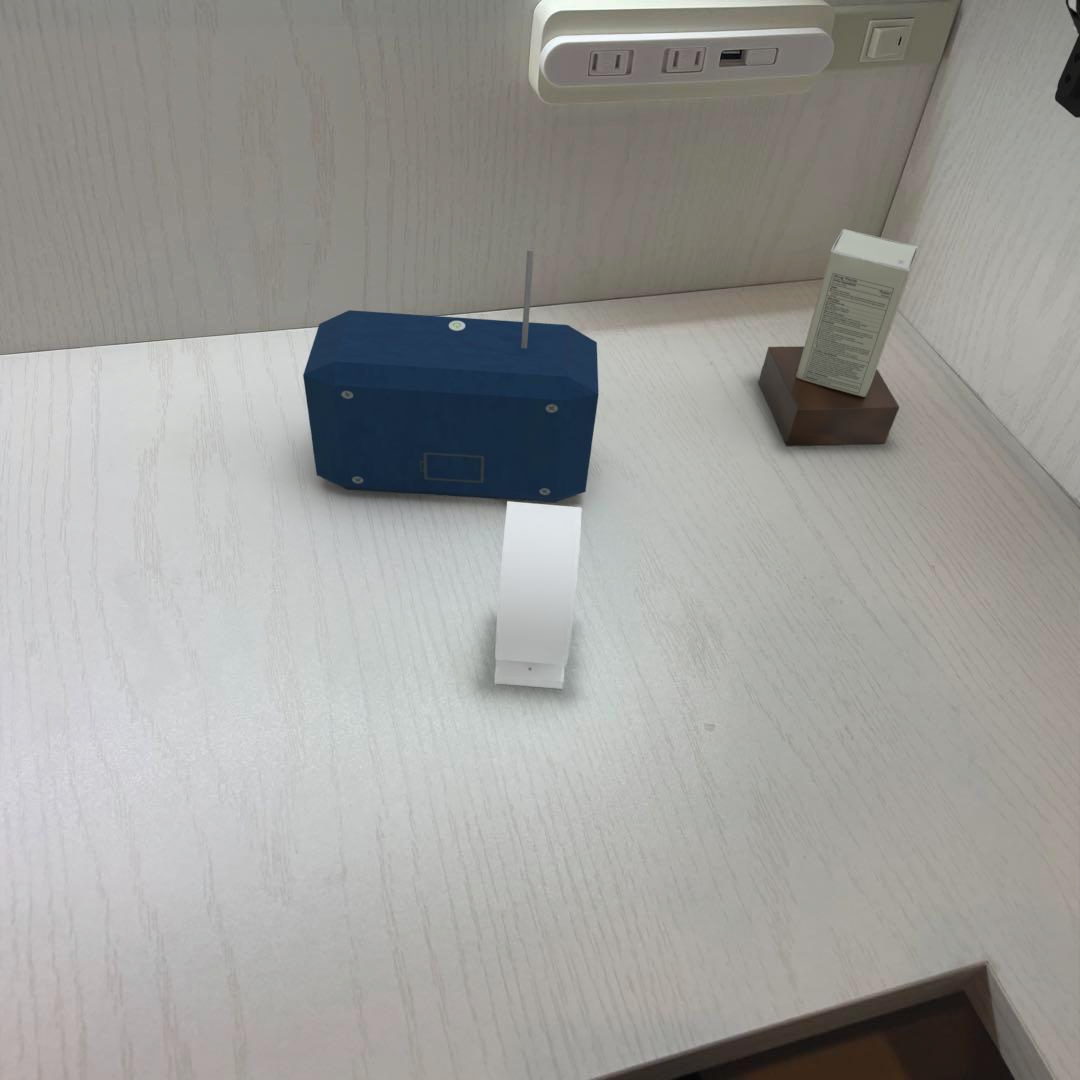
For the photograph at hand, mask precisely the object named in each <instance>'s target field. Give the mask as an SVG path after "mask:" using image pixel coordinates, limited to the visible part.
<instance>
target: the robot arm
mask: <svg viewBox="0 0 1080 1080" xmlns="http://www.w3.org/2000/svg"><path fill="white" fill-rule="evenodd" d="M1065 5H1066V8H1067V9H1068V13H1069V14H1070V17H1071V20H1072V22H1073V23H1072V29H1073V31H1074V32H1075V33H1077V34H1078V35H1077V38H1076V40H1075V43H1074V45H1073V47H1072V49H1071V51H1070V54H1069V56H1068V58H1067V60H1066V63H1065V64H1064V68H1063V70H1062V72H1061V74H1060V77H1059V79H1058V82H1057V86H1056V88H1057V89H1056V91H1055V93H1054V100H1055V102H1057V103H1058V104H1059V105H1060V106H1061V107H1062V108H1064V110H1066V111H1067V112H1068V113H1069V114H1071V116H1072V117H1074V118H1077V119H1078V118H1080V0H1065Z"/></svg>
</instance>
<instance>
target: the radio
mask: <svg viewBox="0 0 1080 1080" xmlns="http://www.w3.org/2000/svg"><path fill="white" fill-rule="evenodd" d="M533 260H534V250H533V249H528V250H526V261H525V262H526V263H525V279H524V294H523V296H524V297H523V310H522V311H523V315H522V321H514V320H502V319H487V318H486V319H485V318H484V319H483V318H472V317H455V316H441V315H425V314H409V313H395V312H382V311H381V312H380V311H366V310H352V309H351V310H350V309H348V310H346V311H345V312H342V313H339V314H337V315H336V316H333V317H331V318H329V319H327V320H325V321H322V322H321V323H318V327H317V329H316V334H315V337H314V340H313V342H312V346H311V350H310V351H309V355H308V358H307V362H306V365H305V368H304V371H303V374H302V377H303V385H304V391H305V399H306V406H307V413H308V421H309V428H310V436H311V437H310V438H311V443H312V451H313V458H314V465H315V466H314V467H315V473H316V476H317V477H319V478H322V479H324V480H325V481H328V482H330V483H333V484H335V485H337V486H339V487H341V488H343V489H345V490H347V491H362V492H377V493H391V494H393V493H394V494H406V495H407V494H408V495H409V494H411V495H426V496H443V497H457V498H459V497H460V498H474V499H491V500H492V499H493V500H505V501H506V500H507V501H522V502H537V503H557V502H560V501H564V500H565V499H569V498H572V497H575V496H577V495H580V494H583V493H586V491H587V484H588V477H589V469H590V461H591V455H592V447H593V441H594V440H593V439H594V431H595V424H596V417H597V409H598V403H599V367H598V366H599V365H598V363H599V362H598V342H597V341H595V340H593V339H592V338H591V337H589V336H587V335H585V334H584V333H582V332H580V331H578V330H577V329H575V328H573V327H572V326H570V325H568V324H561V323H560V324H559V323H546V322H545V323H544V322H531V321H530V309H531V308H530V307H531V293H532V280H533V279H532V278H533V277H532V276H533V263H534V261H533Z"/></svg>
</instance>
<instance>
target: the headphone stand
mask: <svg viewBox="0 0 1080 1080" xmlns="http://www.w3.org/2000/svg"><path fill="white" fill-rule="evenodd" d="M582 512H583V507H581V506H569V505H568V506H567V505H556V504H545V503H544V504H542V503H533V502H521V501H511V500H507V502H506V511H505V520H504V529H503V540H502V542H503V543H502V552H501V553H502V554H501V564H500V576H499V588H498V599H497V600H498V601H497V602H498V603H497V616H496V631H495V650H494V651H495V652H494V653H495V654H494V655H495V657H494V660H495V670H494V683H493V684H496V685H497V684H499V685H510V686H511V685H512V686H521V687H535V688H545V689H558V690H563V689H564V682H565V666H567V664H568V661H569V655H570V649H571V642H572V634H573V625H574V617H575V608H576V607H575V606H576V597H577V586H578V575H579V560H580V549H581V547H580V546H581V531H582Z"/></svg>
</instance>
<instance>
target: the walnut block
mask: <svg viewBox="0 0 1080 1080" xmlns="http://www.w3.org/2000/svg"><path fill="white" fill-rule="evenodd" d="M804 346H805V345H804ZM804 346H803V345H802V346H799V345H798V346H768V347H767V350H766V354H765V358H764V361H763V365H762V368H761V372H760V375H759V378H758V385H759V388H760V389H761V392H762V394H763V397H764V399H765V401H766V403H767V405H768V408H769V410H770V412H771V414H772V417H773V419H774V421H775V424H776V426H777V429H778V430H779V433H780V435H781V437H782V439H783V442H784V445H785V446H787V447H788V446H791V447H793V446H825V445H827V446H828V445H831V446H832V445H867V444H874V445H875V444H885V443H886V441H887V439H888V436H889V434H890V432H891V429H892V427H893V424H894V422H895V419H896V417H897V414H898V412H899V410H900V405H899V404H898V402H897V400H896V399H895V397H894V396H893V394H892V392H891V390H890V388H889V387H888V385H887V383H886V382H885V380H884V379H883V377H882V375H881V373H880V372H879V370H878V368H877V369H876V372H875V375H874V378H873V381H872V383H871V386H870V388H869V391H868V393H867V395H866V397H862V396H858V395H854V394H850V393H847V392H843V391H839V390H836V389H832V388H829V387H825V386H822V385H818V384H815V383H811V382H808V381H805V380H801V379H798V378H797V377H796V375H797V372H798V368H799V364H800V361H801V357H802V353H803V349H804Z"/></svg>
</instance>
